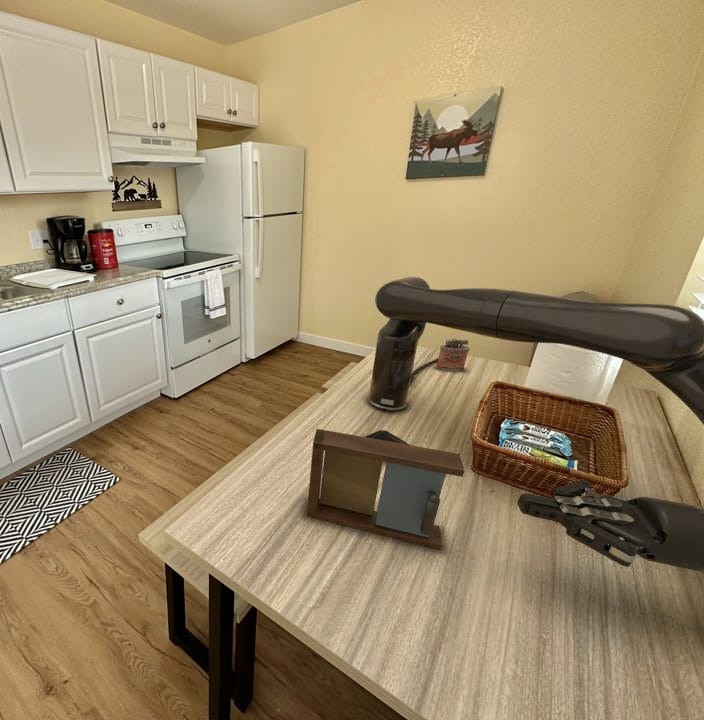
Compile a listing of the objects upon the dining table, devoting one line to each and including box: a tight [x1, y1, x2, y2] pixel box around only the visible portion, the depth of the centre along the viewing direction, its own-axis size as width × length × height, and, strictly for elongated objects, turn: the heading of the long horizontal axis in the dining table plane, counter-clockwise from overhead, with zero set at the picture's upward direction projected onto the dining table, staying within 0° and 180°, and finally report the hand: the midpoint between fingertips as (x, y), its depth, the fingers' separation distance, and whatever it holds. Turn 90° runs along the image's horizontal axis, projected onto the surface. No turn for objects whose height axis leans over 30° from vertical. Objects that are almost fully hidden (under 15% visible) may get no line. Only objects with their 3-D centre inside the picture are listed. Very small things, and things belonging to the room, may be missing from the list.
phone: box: [365, 429, 411, 445], centre depth 82 cm, size 8×1×15 cm
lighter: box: [435, 338, 470, 373], centre depth 118 cm, size 8×3×10 cm, turn 80°
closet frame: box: [306, 428, 466, 551], centre depth 63 cm, size 4×21×16 cm, turn 70°
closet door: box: [375, 462, 447, 537], centre depth 59 cm, size 4×8×13 cm, turn 70°
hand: (520, 503), depth 52 cm, fingers closed
